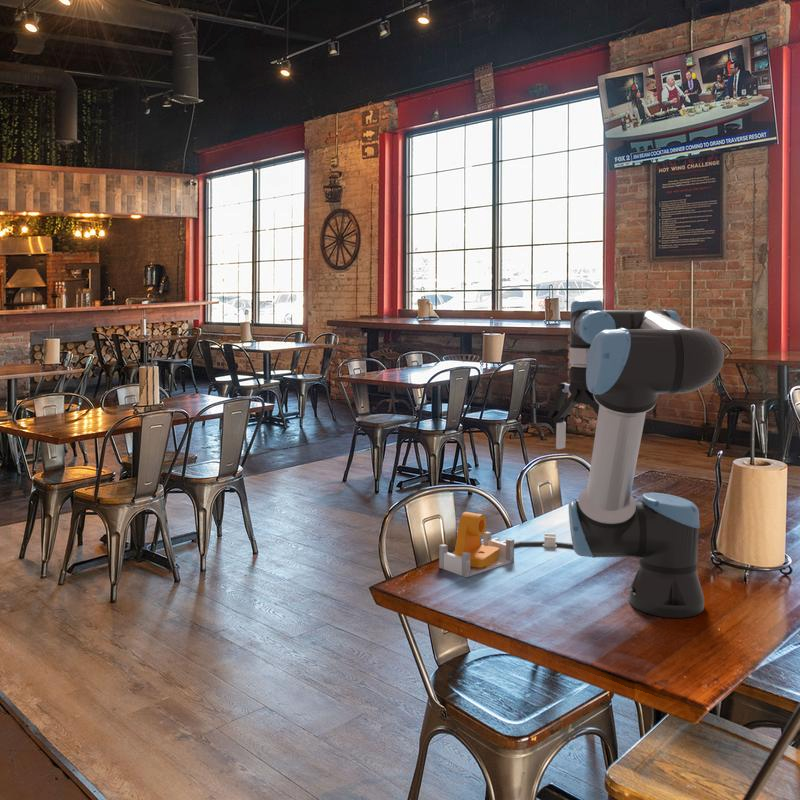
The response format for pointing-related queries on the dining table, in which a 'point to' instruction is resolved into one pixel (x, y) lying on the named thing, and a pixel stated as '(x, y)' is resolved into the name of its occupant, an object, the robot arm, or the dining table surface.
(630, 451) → the robot arm
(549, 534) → the cable route
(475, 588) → the dining table surface
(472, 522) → the bracket
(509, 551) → the holder
